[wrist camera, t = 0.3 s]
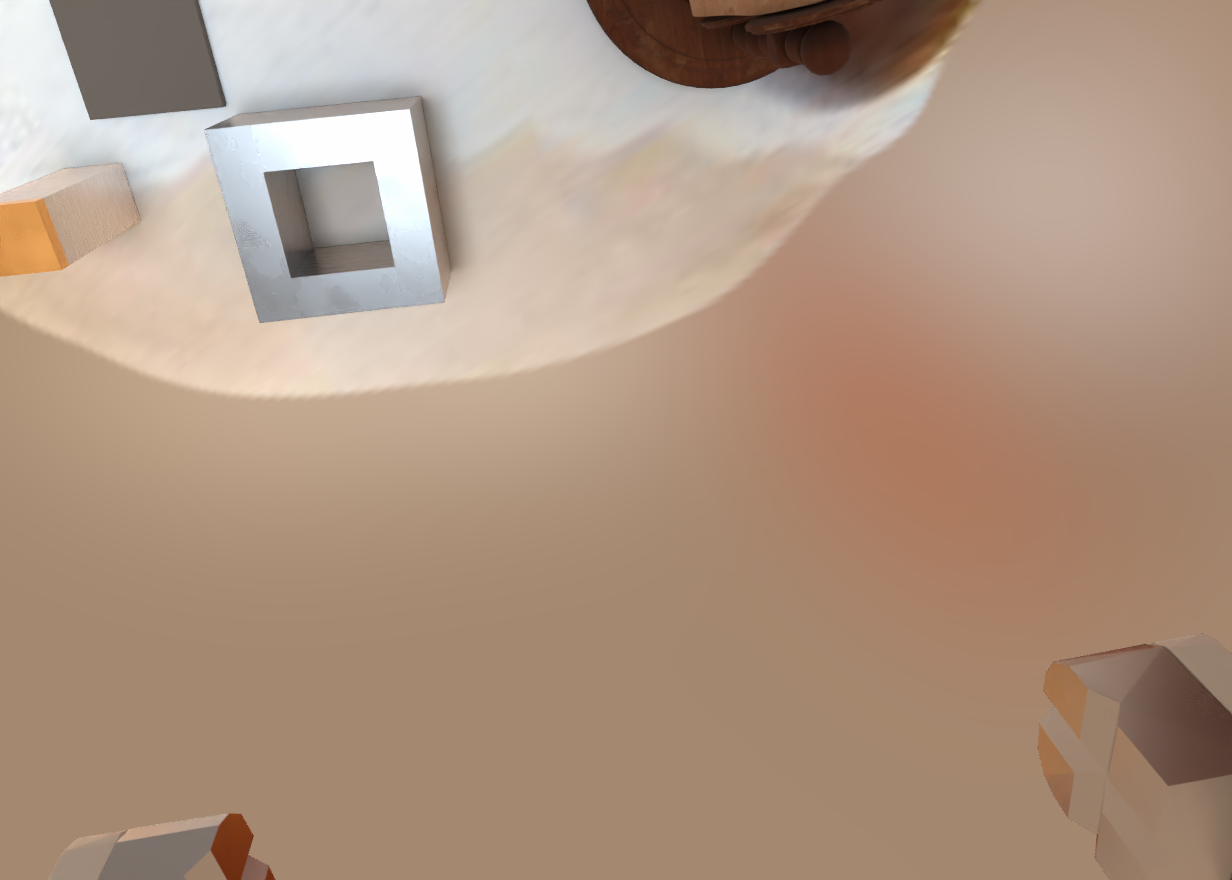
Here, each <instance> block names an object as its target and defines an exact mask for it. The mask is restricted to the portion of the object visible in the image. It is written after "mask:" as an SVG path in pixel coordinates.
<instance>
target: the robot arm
mask: <svg viewBox="0 0 1232 880" xmlns="http://www.w3.org/2000/svg"><path fill="white" fill-rule="evenodd" d="M1043 691H1044V692H1045V694H1046V695H1047V697H1048V698H1049V699H1050V701H1051V702H1052V703H1053V705H1054V707H1053V709H1052V710H1051V711H1050V712H1049V713H1048V714H1047V715H1046V716H1045V718H1044V719H1043V720H1042V721H1041V722H1040V723H1039V736H1038V751H1039V756H1040V760H1041V764H1042V768H1043V773H1044V776H1045V778H1046V780H1047V783H1048V785H1049V787H1050V789H1051V791H1052V793H1053V795H1054V797H1055V799H1056V800H1057V802H1058V803H1059V805H1060V806H1061V808H1062V810H1063V811H1064V813H1065V814H1066V816H1067V817H1068V818H1069V819H1070V820H1072V821H1074V822H1075V823H1077V824H1079V825H1081V826H1082V827H1084V828H1086V829H1088V830H1089V831H1091V832H1092V833H1094V834H1096V835H1097V838H1096V849H1095V859H1096V861H1097V862H1098V863H1099V865H1100V867H1101V868H1102V869H1103V871H1104V873H1105V874H1106V875H1107V877H1108V879H1109V880H1232V653H1231V652H1230V651H1229V650H1228V649H1227V648H1226V647H1225V646H1223V645H1222V644H1221V643H1220V642H1219V641H1218V640H1216V639H1214V638H1212V637H1210V636H1207V635H1205V634H1203V633H1201V634H1196V635H1190V636H1185V637H1180V638H1175V639H1169V640H1164V641H1159V642H1153V643H1151V644H1149V645H1148V644H1141V645H1136V646H1131V647H1126V648H1121V649H1115V650H1110V651H1105V652H1100V653H1095V654H1090V655H1085V656H1080V657H1075V658H1069V659H1064V660H1059V661H1054V662H1053V663H1052V664H1051V666H1050V667H1049V668H1048V670H1047V671H1046V675H1045V683H1044V690H1043ZM253 837H254V835H253V833H252V832H251V830H250V828H249V826H248V825H247V823H246V821H245V820H244V818H243V816H242V814H234V813H233V814H231V813H229V814H222V815H216V816H209V817H203V818H196V819H190V820H184V821H177V822H171V823H164V824H159V825H152V826H145V827H139V828H132V829H129V830H125V831H119V832H112V833H106V834H100V835H93V836H87V837H81V838H78V839H76V840H75V841H74V842H73V843H72V844H71V845H70V846H69V847H67V848H66V849H65V850H64V851H63V852H62V854H61V855H60V857H59V859H58V861H57V863H56V865H55V866H54V868H53V870H52V872H51V874H50V876H49V878H48V880H275V878H274V876H273V873H272V871H271V869H270V867H269V866H268V865H266V864H265V863H263V862H261V861H259V860H257V859H255V858H253V857H251V856H249V855H248V854H249V851H250V847H251V844H252V841H253Z"/></svg>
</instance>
